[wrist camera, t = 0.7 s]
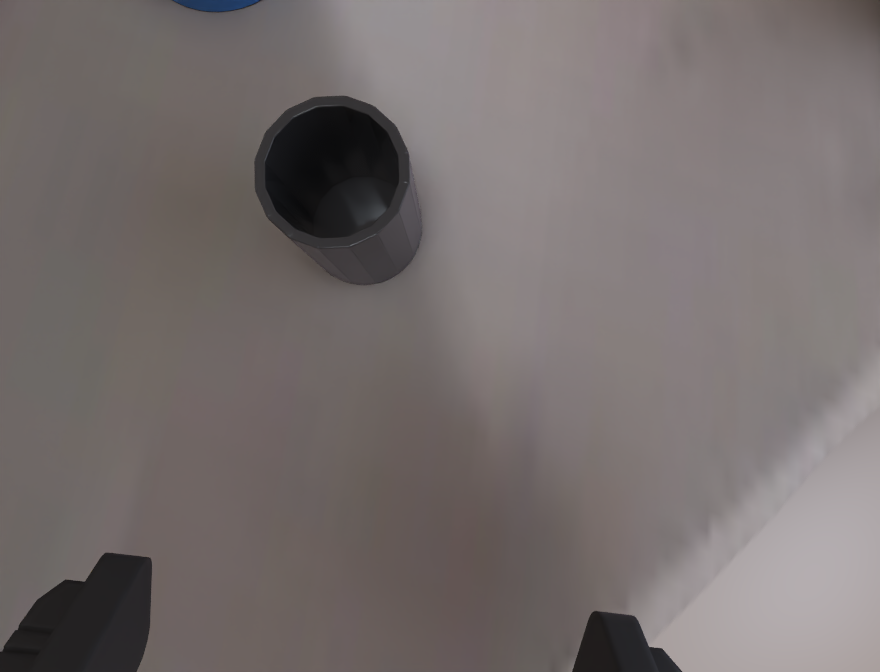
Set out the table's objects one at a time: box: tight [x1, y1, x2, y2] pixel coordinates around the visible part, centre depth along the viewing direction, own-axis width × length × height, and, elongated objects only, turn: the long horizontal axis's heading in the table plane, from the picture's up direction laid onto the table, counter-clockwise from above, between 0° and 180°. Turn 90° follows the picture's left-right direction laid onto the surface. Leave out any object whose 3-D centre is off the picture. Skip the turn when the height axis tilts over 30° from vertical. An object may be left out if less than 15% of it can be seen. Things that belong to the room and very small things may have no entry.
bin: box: [255, 96, 422, 285], centre depth 33 cm, size 6×6×10 cm
